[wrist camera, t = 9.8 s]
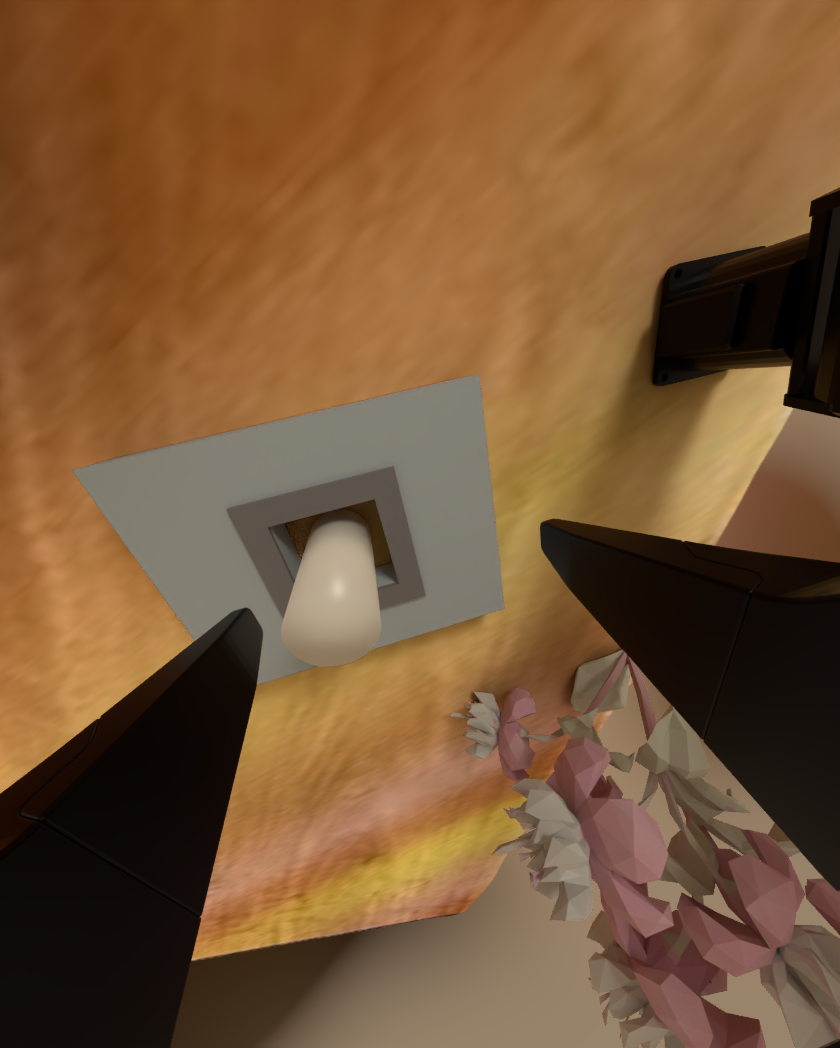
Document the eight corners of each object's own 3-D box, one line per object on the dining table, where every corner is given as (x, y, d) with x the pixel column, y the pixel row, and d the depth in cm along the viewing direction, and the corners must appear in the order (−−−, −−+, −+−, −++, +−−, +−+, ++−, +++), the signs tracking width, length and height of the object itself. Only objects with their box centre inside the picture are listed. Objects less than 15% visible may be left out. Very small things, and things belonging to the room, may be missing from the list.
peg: (361, 502, 20) (366, 578, 12) (377, 553, 22) (391, 650, 14) (300, 517, 20) (263, 607, 12) (321, 568, 21) (302, 677, 13)
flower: (582, 524, 22) (1046, 1748, 4) (755, 633, 28) (1254, 1332, 10) (434, 627, 35) (391, 1042, 17) (575, 687, 41) (655, 1041, 23)
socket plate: (464, 377, 18) (481, 374, 16) (491, 589, 25) (506, 611, 23) (110, 459, 16) (66, 471, 14) (244, 663, 23) (230, 696, 21)
